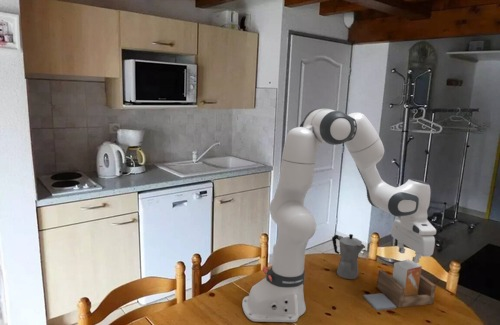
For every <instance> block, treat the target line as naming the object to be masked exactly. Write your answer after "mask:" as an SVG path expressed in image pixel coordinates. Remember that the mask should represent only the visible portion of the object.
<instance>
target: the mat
mask: <svg viewBox="0 0 500 325" xmlns="http://www.w3.org/2000/svg"><path fill="white" fill-rule="evenodd" d="M362 297H363V298H364V300H365V301H366V302H367V303H369V304H370V306H371V307H373V309H374V310H375V311H385V310H396V309H397V308H398V306H396V305H395V304H394V303H393V302H392V301H391V300H390V299H389V298H388V297H387V296H386V295H385V294H384V293H382V292H381V293H371V294H363V296H362Z"/></svg>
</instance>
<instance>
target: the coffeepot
mask: <svg viewBox="0 0 500 325" xmlns="http://www.w3.org/2000/svg"><path fill="white" fill-rule="evenodd" d="M337 240H338V241H339V251H338V246H337V245H338V244H337ZM331 241H332V244H333V250H334V253H336V254H337V255H339V254H340V260H339V263H338V266H337V269H336V274H337V275H338V276H339V277H340V278H343V279H345V280H346V279H347V280H355V279H357V278H358V277H359V265H358V262H359V261H358V258H359V255H360V253H361V252H362V251H363V249H366V246H365V245H364V244H363V243H362V241H361V240H360V239H358V238H356V237H354V235H353V234H350V233H349V235H348V236H346V237H344V236H341V235H338V234H335V235H334V236H332V238H331Z"/></svg>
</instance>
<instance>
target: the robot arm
mask: <svg viewBox="0 0 500 325" xmlns="http://www.w3.org/2000/svg"><path fill="white" fill-rule="evenodd" d="M323 143H324V144H329V145H332V146H337V145H341V144H344V145H345V147H346V148H347V151H348V152H349V154H350V156H351V157H352V159H353V161H354V163H355V166H356V167H357V170H358V173H359V175H360V177H361V179H362V181H363V183H364V186H365V190H366V196H367V197H366V198H367V200H368V201H367V202H368V203H369V204H370V205H371V206H373V207H375V208H378V209H380V210H382V211H384V212H386V213H388V214H389V215H391V216H395V217H394V221H393V222H392V226H391V230H390V236H391V237H392V238H393V239H395V240H397V245H398V252H399V254H405V253H406V248H405V247H404V245H405V246H406V247H408V248H409V249H411V250H412V251H414V252H415V253H414V254H415V256H413V257H412V260H411V261H413V262H415V263H417V264H419V263H420V259H421V258H422V257H431V256H432V255H433V254H434V250H435V243H436V238H435V235H436V234H437V228H435V227H434V226H433V225H432V223H431V222H430V221H429V219H428V216H429V215H428V210H429V208H430V203H431V202H430V201H431V192H432V190H431V186H430V184H429V183H427V181H423V180H419V179H415V178H408V180H407V181H405V183H403V184H402V185H399V186H396V187H395V186H393V185H390V184H388V183H387V182H385V181H384V180H383V179H382V177H381V175H380V172H379V170H378V169H377V168H378V167H377V166H376V165H377V164H378V163H379V162H380V161H381V160H382V159H383V157H384V155H385V147H384V144H383V142H382V140H381V137H380V136H379V134H378V132H377V130H376V129H375V127H374V125H373V124H372V122H371V121H370V120H369V118H368V117H367V116H366V115H365V114H363V113H362V112H351V113H348V114H347V113H345V112H344V111H339V110H334V109H332V108H314V109H312V110H310V111H309V112H307V114H306V115H305V116H304V118H303V121H302V122H301V123H300V125H299V126H297V127H294V128H292V129H290V130H289V131H288V133H287V135H286V138H285V142H284V145H283V150H282V155H281V164H280V168H279V169H280V171H279V177H278V183H277V187H276V189H275V192H274V196H273V198H272V200H271V202H270V203H269V214H270V216H271V219H272V220H273V222H274V223H275V224H276V226H277V229H278V233H277V239H276V242H275V244H274V245H273V247H272V261H271V262H272V264H271V267H270V268H268V266H265V265H264V266H263V267H262V271H263V274H266V275H265V276H266V277H264V278H263V279H262V280H260V281H258V282H257V283H256V284H254V285H253V286H252V287H251V289H250V290H249V294H248V295H247V296H244V298H243V299H242V302H241V303H242V306H241V307H242V312H243V313H244V315H245V316H246V318H247V319H249V320H250V321H252V322H255V323H256V322H262V323H263V322H266V323H296V322H298V320H299V318H300V317H301V316H303V314H305V312H306V309H307V307H306V302H305V297H304V286H305V281H306V274H305V272H306V271H305V260H306V258H305V257H306V250H307V246H308V244H309V240H310V239H311V238H312V237H314V235H315V232H316V230H317V223H316V220H315V218H314V216H313V214H312V212H311V211H310V210H309V209H308V208H306V207H305V205H304V204H305V198H306V196H307V194H308V191H309V190H310V189H311V188H312V187H313V186H312V185H313V181H314V174H315V168H316V167H315V166H316V160H317V152H318V150H319V147H320V146H321V145H322V144H323Z"/></svg>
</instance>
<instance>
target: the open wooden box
mask: <svg viewBox="0 0 500 325" xmlns="http://www.w3.org/2000/svg"><path fill="white" fill-rule="evenodd" d="M376 287H377V289H378V290H380V292H381V293H383V294H384V295H385V296H386V297H387V298H388V299H389V300H390V301H391V302H392V303H393V304H394V305H396V306H397V308H404V307H415V306H423V305H433V304H434V302H435V301H434V300H435V294H436V288H437V286H436V284H435V283H433V282H432V281H430V280H429V279H428V278H426V277H425V276H424V275H422V274H421V275H420V282H419V289H418V296H407V297H404V290H405V288H404V287H403V286H402V285H400V284H399V283H398V282H397V281H396V280H394V279H393V278H392V276H391V275H390V274H388V273H387V271H384V270H383V269H379V270H378V276H377V285H376Z"/></svg>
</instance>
